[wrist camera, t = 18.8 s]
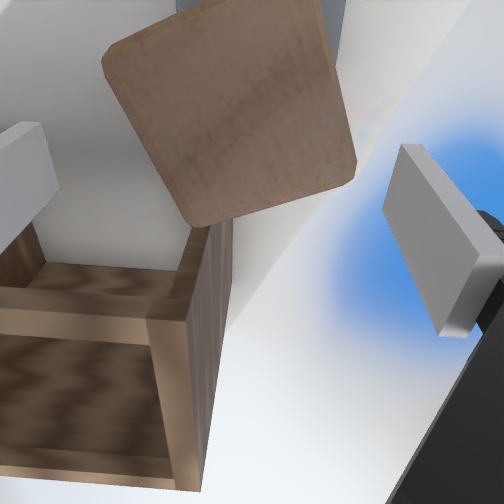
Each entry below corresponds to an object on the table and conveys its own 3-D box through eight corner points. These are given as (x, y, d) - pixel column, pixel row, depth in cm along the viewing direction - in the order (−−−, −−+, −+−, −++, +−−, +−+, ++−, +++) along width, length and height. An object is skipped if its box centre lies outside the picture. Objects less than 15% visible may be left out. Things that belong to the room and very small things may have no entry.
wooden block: (180, 11, 32) (83, 57, 16) (293, -42, 30) (310, -48, 14) (226, 123, 38) (187, 239, 22) (326, 86, 35) (364, 187, 19)
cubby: (39, 268, 52) (-116, 466, 31) (-17, 119, 40) (-327, 284, 19) (231, 282, 51) (200, 492, 31) (234, 135, 39) (185, 321, 19)
